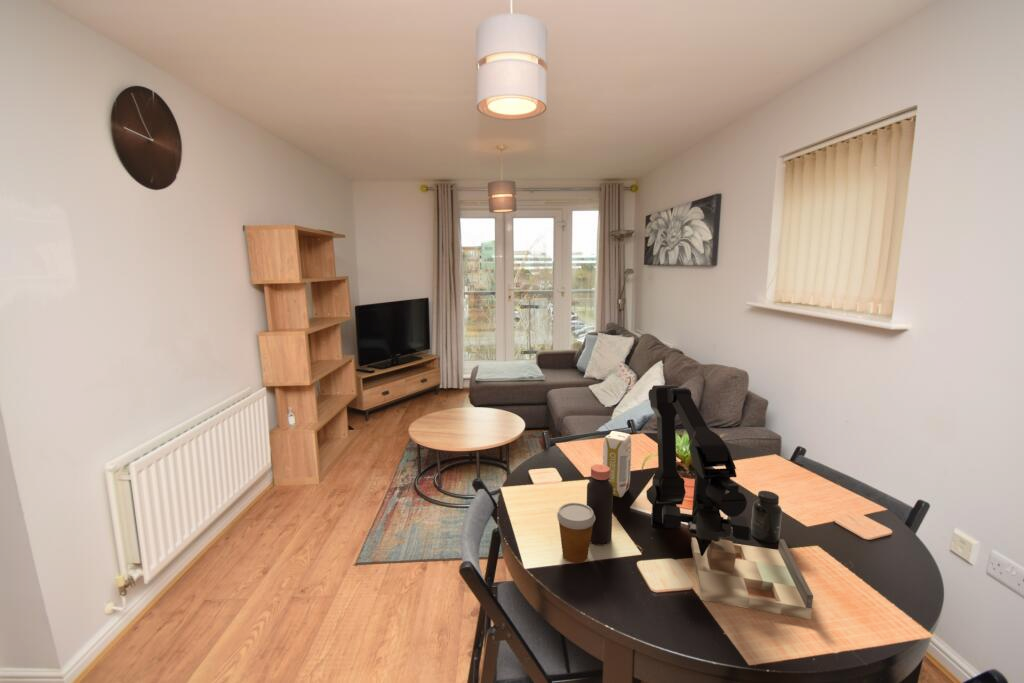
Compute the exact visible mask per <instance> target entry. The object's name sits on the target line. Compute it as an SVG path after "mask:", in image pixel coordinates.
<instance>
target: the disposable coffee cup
mask: <svg viewBox="0 0 1024 683" xmlns="http://www.w3.org/2000/svg"><path fill="white" fill-rule="evenodd" d="M556 518H557V521H558V525H559V533H560V542H561V551H562V557H563V558H564V560H566V562H568V563H571V564H582V563H584V562H586V561H587V560H588V558H589V551H590V546H591V545H590V544H591V542H590V540H591V534H592V528H593V524H594V522H595V515H594V512H593V510H592V509H591V508H590V507H589V506H587V504H584V503H581V502H568V503H564V504H563V505H561V506H560V507H559V508H558V511H557V513H556Z"/></svg>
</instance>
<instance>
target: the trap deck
mask: <svg viewBox="0 0 1024 683" xmlns="http://www.w3.org/2000/svg"><path fill="white" fill-rule="evenodd" d="M733 545H734V548H735V551H736V559H735V565H734V571H733V574H732V573H728V572H723V571H719V570H714V569H710V568H709V564H708V559H707V550H708V548H707V549H706V551H705V553H704V555H703V556H701V554H700V550H699V546H698V542H697V539H696V537H691V545H690V547H691V553H692V559H693V565H694V570H695V575H696V581H697V587H698V592H699V598H700V601H706V602H712V603H716V604H717V603H718V604H723V605H728V606H733V607H734V606H735V607H739V608H745V609H751V610H754V611H755V610H756V611H760V612H761V611H762V612H766V613H767V612H768V613H773V614H777V615H778V614H779V615H782V616H783V615H784V616H789V617H793V618H799V619H805V620H806V619H807V620H811V619H812V618H811V617H812V610H813V601H814V600H813V599H814V594H813V592H812V591H811V589H810V586H809V585H808V583H807V581H806V578H805V577H804V575H803V573H802V571H801V570H800V567H799V566H798V564H797V561H795V558H794V556H793V554H792V552H791V550H790V549H789V547H788V545H787V543H786V541H785V539H783V538H779V540H778V548H777V549H772V548H767V547H761V546H754V545H747V544H739V543H733Z"/></svg>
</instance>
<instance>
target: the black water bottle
mask: <svg viewBox="0 0 1024 683" xmlns="http://www.w3.org/2000/svg"><path fill="white" fill-rule="evenodd" d="M590 478H591V480H590V481H588V483H587V484H586V505H587V506H589V507H590V508H591V509H592V510H593V512H594V515H595V522H594V524H593V528H592V534H591V540H590V544H592V545H597V546H605V545H608V544H609V543H611V541H612V537H613V536H612V532H613V531H612V529H613V504H614V503H613V502H614V496H613V486H612V484H611V483H610V482H609V481H608V480H609V479H610V468H609V467H608V466H606V465H603V464H600V463H599V464H594V465H592V466H591V468H590Z"/></svg>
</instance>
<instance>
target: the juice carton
mask: <svg viewBox="0 0 1024 683" xmlns="http://www.w3.org/2000/svg"><path fill="white" fill-rule="evenodd" d="M631 436H632V435H631V434H630V433H627V432H622V431H616V430H611V432H610V433H609V434H607V435H605V436H604V439H603V445H602V446H603V449H602V465H606V466H608V467H609V468H610V479H609V480H608V481H609V482H610V483H611V484H612V486H613V497H618V498H622V497H623V496H624V495H625V493H626V492H627V491H628V490H629V488H630V483H631V466H632V465H631V464H632V463H631V461H632V438H631Z"/></svg>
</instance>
